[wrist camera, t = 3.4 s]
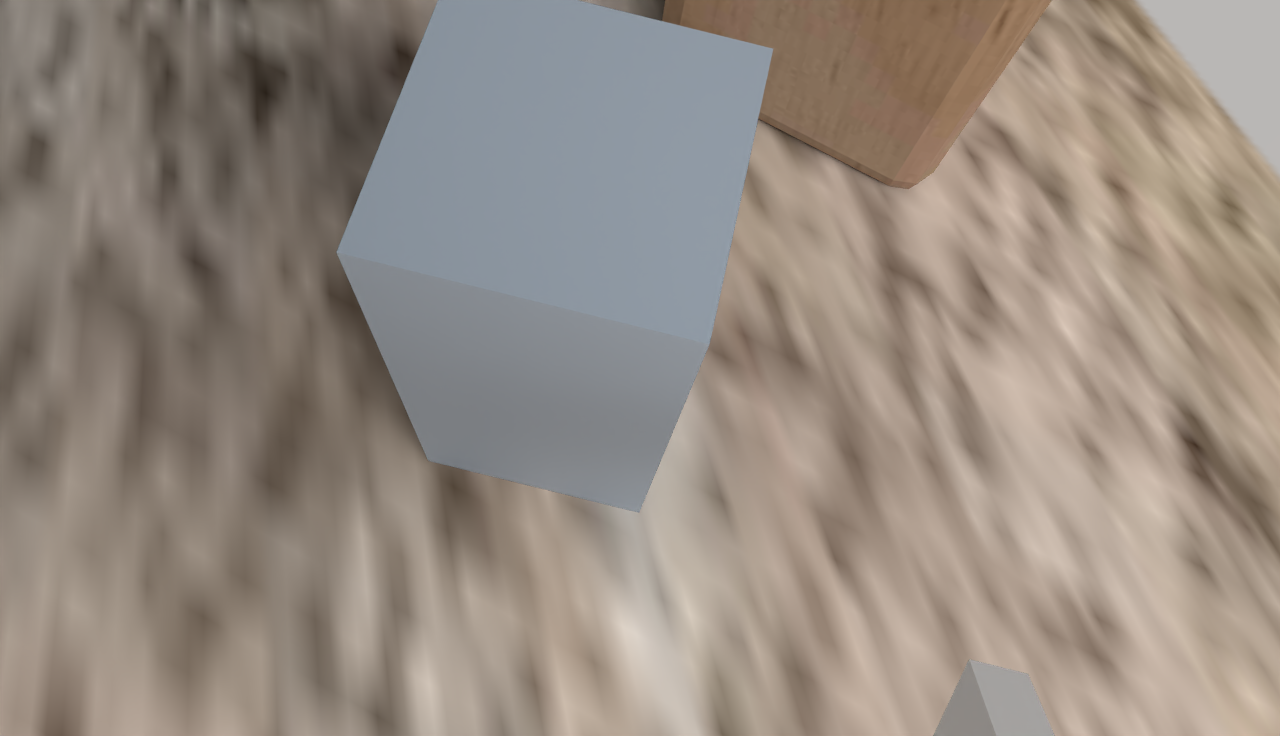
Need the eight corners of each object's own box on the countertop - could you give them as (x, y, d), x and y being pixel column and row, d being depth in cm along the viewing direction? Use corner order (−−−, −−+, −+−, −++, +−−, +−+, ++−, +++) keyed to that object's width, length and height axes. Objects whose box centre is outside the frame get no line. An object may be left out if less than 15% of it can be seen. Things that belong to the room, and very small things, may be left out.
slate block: (428, 460, 26) (336, 252, 14) (489, 273, 28) (451, -32, 17) (638, 512, 26) (709, 344, 14) (683, 321, 28) (773, 48, 17)
